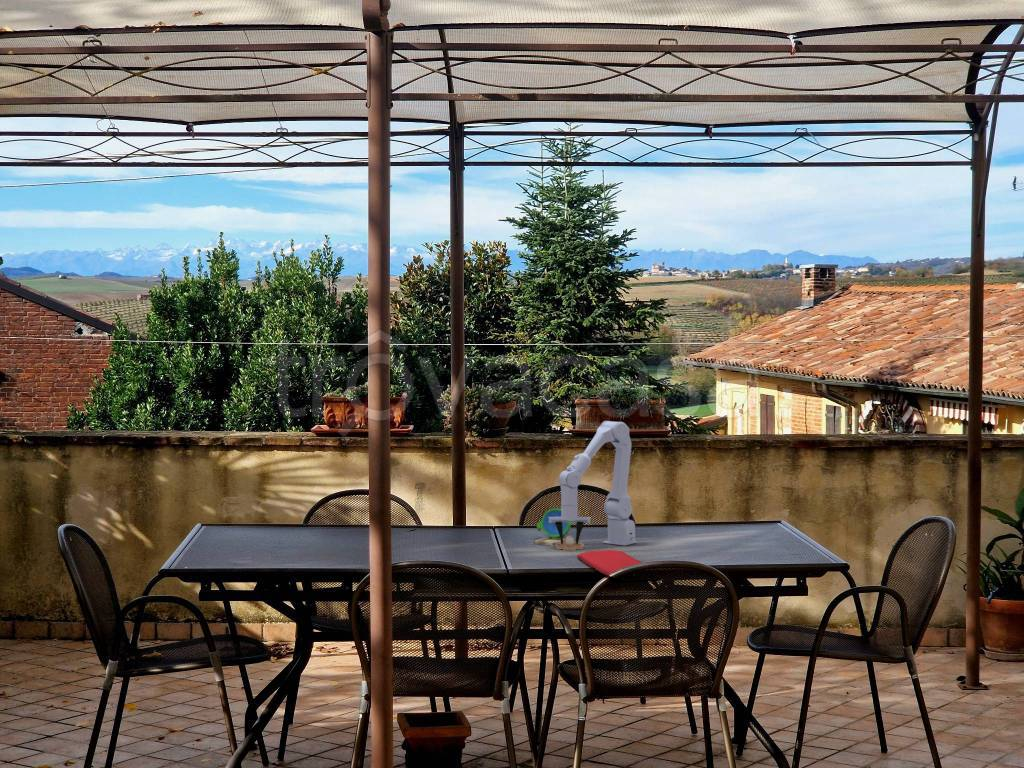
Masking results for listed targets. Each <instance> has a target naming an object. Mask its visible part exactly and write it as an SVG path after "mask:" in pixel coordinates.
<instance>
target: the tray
mask: <svg viewBox="0 0 1024 768" xmlns="http://www.w3.org/2000/svg"><path fill="white" fill-rule="evenodd" d="M564 538H565V537H563V542H564ZM557 543H561V539H560V537H549V536H547V537H544V538H540V539H539V538H538V539H535V540H533V545H539V544H541V545H542V546H547V545H549V546H548V547H555V544H557ZM541 545H540V546H541Z"/></svg>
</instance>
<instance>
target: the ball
mask: <svg viewBox="0 0 1024 768" xmlns="http://www.w3.org/2000/svg"><path fill="white" fill-rule="evenodd" d="M563 538H564V543H565V545H566V546H568V547H571V546H573V545H574V544H575V542H576V537H574V536H573V535H570V534H567V535H565V536H564V537H563Z"/></svg>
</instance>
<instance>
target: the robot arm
mask: <svg viewBox="0 0 1024 768" xmlns="http://www.w3.org/2000/svg"><path fill="white" fill-rule="evenodd" d="M609 442H610V443H611V444H612V445H613V446H614V448H615V455H614V463H613V473H612V482H611V483H612V484H611V491H610V492H609V493H608V494H607V496H606V501H605V502H604V504H603V511H604V513H605V514H606V519H607V540H605V541H602V543H603V544H610V545H617V546H618V545H620V546H627V545H628V546H629V545H632V544H636V543H637V541H636V523H635V521H634V520H632V519H630V516H631V514H632V512H633V507H632V504H631V501H632V499H631V497H630V495H629V494H628V484H629V475H630V474H629V473H630V463H631V454H632V445H633V444H632V440H631V437H630V428H629V426H628V425H627V424H626V423H625V422H623V421H612V420H611V421H610V420H604V421H603V422H602V423H601V424H600V426H599V427H598V428H597V429H596V433H595V434H594V436H593V438H592V439H591V441H590V442H589V444H588V445H587V447H586V448H585V450H584V451H583V452H582V453H578V454H576V455H574V456H573V460H572V462H571V463H570V465H568V466H567V467H566V470H563V471H561V472H560V474H559V477H558V478H557V483H558V484H559V486H560V491H561V492H560V495H561V496H560V497H561V498H560V499H561V500H560V502H561V503H560V505H561V506H560V507H561V508H560V509H561V517H549V523H555V525H556V527H557V530H558V532H559V535H560V537H559V538H560V539H561V544H563V538H564V536H563V525H562V523H576V524H575V526H576V527H575V528H576V529H575V530H576V533H575V535H576V536H575V542H576V544H578V543H579V539H580V536H581V533H582V531H583V528H584V525H585V524H586V523H587V524H591V517H590V516H579V515H578V513H579V511H578V509H579V508H578V486H580V485H581V484H582V483H581V482H582V477H583V475H584V474H585V472H587V470H588V469H589V467H590V466H591V465H592V458H593V457H594V456H595V455H596V453H598V451H599V450H600V449H601V448H602V447H603V446H604V444H606V443H607V444H608V443H609Z"/></svg>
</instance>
